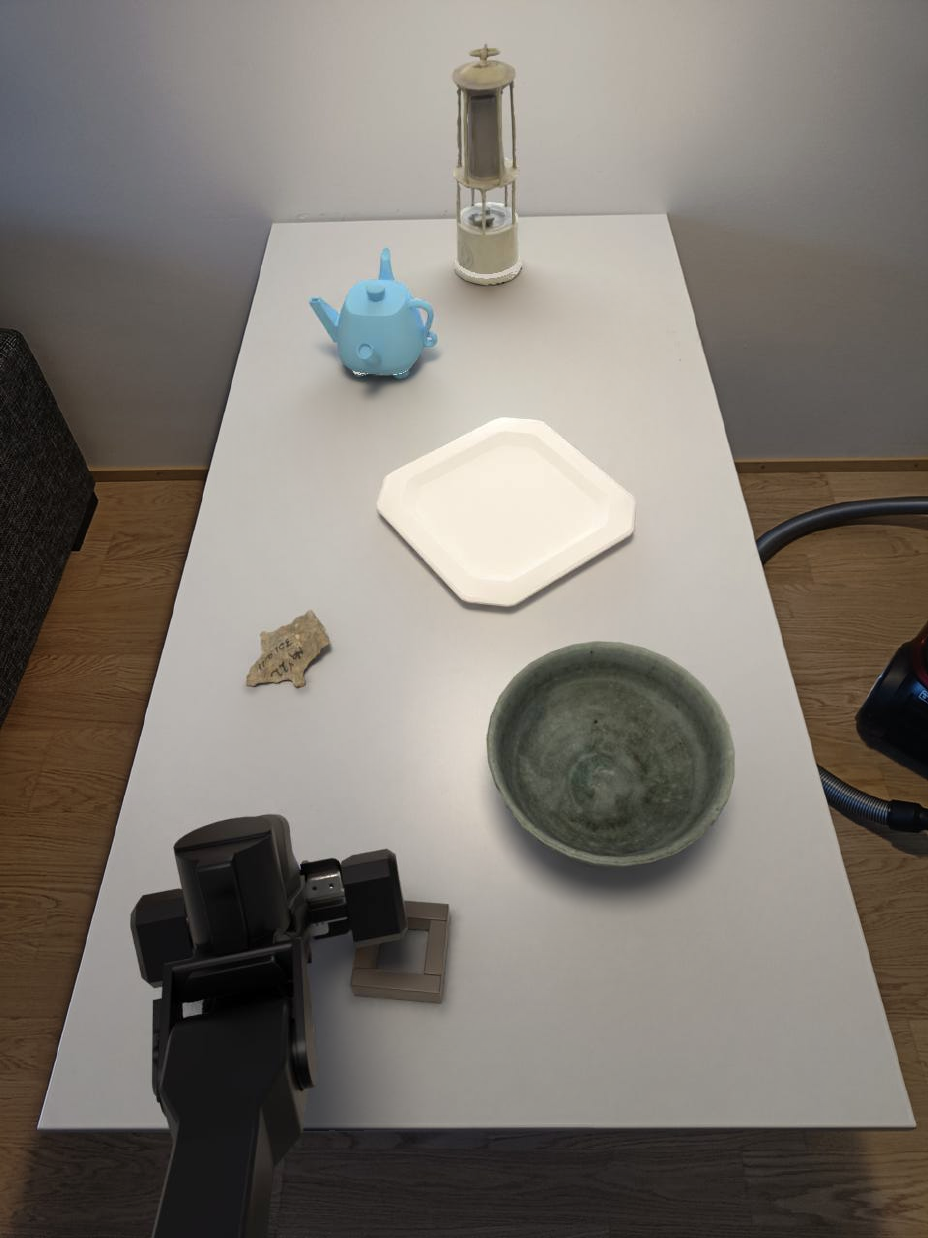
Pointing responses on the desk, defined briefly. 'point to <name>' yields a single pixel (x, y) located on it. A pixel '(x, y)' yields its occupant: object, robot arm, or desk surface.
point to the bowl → (611, 753)
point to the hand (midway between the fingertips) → (283, 870)
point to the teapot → (378, 325)
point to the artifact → (289, 651)
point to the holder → (405, 983)
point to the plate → (506, 510)
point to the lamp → (485, 170)
